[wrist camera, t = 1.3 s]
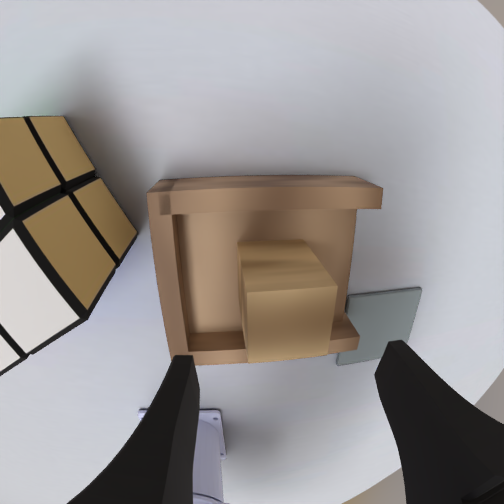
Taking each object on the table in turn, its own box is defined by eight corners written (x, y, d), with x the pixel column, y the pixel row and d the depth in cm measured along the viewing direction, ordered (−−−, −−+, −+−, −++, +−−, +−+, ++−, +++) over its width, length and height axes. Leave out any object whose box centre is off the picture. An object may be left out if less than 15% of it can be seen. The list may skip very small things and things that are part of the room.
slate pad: (401, 350, 27) (403, 353, 26) (336, 363, 26) (337, 366, 26) (419, 287, 24) (422, 289, 24) (348, 295, 23) (349, 298, 23)
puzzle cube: (50, 300, 21) (-10, 385, 12) (-18, 199, 17) (-105, 246, 8) (141, 234, 20) (90, 320, 11) (63, 112, 16) (-38, 114, 7)
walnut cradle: (354, 176, 20) (383, 188, 16) (338, 318, 24) (357, 349, 20) (159, 180, 19) (146, 192, 15) (177, 330, 23) (172, 365, 19)
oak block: (299, 296, 21) (327, 355, 15) (238, 300, 20) (248, 363, 15) (303, 239, 19) (337, 285, 14) (236, 242, 19) (246, 292, 13)
